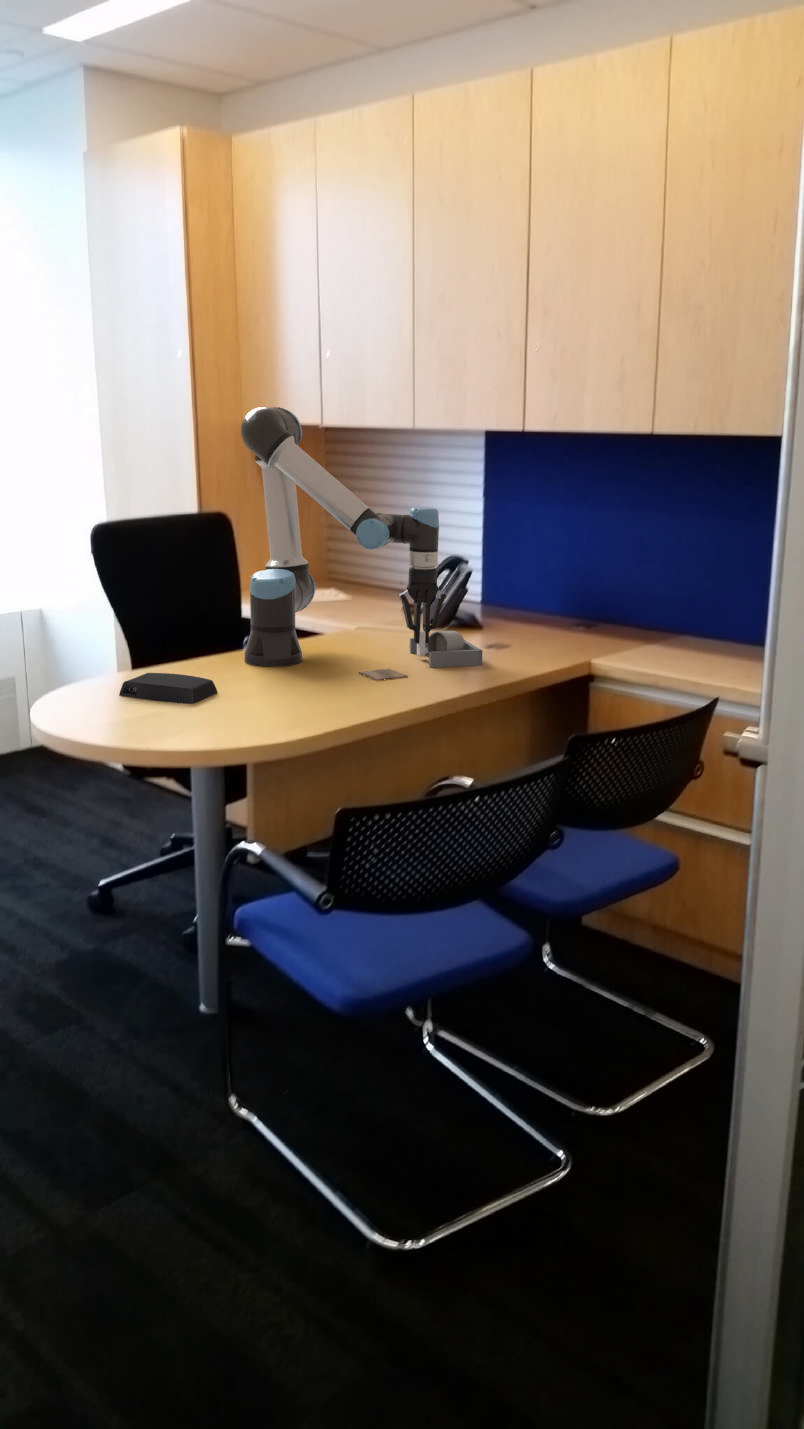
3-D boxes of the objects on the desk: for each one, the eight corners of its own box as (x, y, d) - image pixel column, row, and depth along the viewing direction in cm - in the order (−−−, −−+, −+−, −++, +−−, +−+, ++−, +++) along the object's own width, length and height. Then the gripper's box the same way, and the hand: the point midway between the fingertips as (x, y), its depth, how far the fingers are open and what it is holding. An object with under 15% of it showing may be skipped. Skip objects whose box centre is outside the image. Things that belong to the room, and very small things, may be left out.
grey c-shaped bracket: (430, 667, 298) (430, 652, 297) (409, 652, 316) (409, 638, 315) (481, 665, 301) (482, 650, 300) (458, 650, 319) (458, 636, 318)
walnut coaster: (376, 683, 282) (376, 679, 282) (358, 675, 289) (358, 672, 289) (407, 679, 287) (407, 675, 286) (388, 672, 294) (388, 668, 294)
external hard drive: (147, 686, 274) (147, 669, 273) (219, 694, 268) (219, 677, 267) (117, 698, 262) (116, 681, 261) (191, 707, 256) (190, 689, 255)
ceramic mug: (466, 658, 310) (467, 630, 308) (447, 662, 304) (447, 633, 302) (436, 652, 317) (436, 625, 315) (417, 657, 311) (417, 629, 309)
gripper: (403, 569, 295) (401, 659, 301) (451, 568, 299) (448, 657, 305) (395, 565, 302) (393, 653, 308) (442, 564, 306) (439, 651, 312)
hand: (420, 655), depth 306 cm, fingers closed
